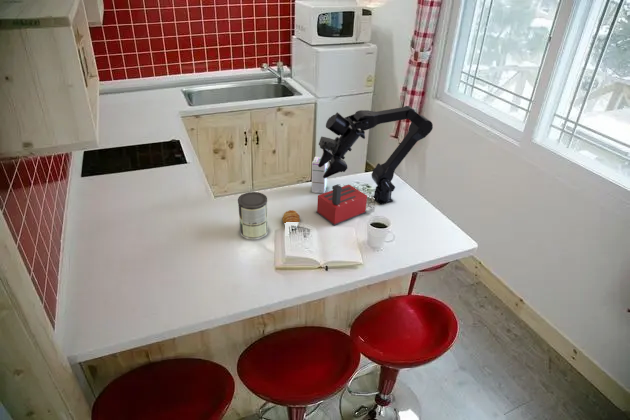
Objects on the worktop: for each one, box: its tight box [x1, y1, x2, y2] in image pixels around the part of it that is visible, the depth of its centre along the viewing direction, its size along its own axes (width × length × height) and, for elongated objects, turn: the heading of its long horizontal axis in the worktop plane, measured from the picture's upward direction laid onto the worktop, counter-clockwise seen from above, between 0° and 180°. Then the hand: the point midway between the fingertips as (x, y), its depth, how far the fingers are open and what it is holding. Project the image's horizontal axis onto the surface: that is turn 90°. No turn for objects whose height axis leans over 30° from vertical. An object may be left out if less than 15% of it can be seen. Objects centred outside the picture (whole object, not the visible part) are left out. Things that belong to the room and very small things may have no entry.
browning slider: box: [331, 184, 343, 205], centre depth 163 cm, size 2×3×7 cm
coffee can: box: [237, 191, 269, 241], centre depth 158 cm, size 10×10×14 cm
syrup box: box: [311, 156, 329, 194], centre depth 186 cm, size 6×6×14 cm
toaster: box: [316, 184, 368, 227], centre depth 173 cm, size 16×11×8 cm
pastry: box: [281, 209, 301, 224], centre depth 166 cm, size 9×7×4 cm
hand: (321, 172), depth 171 cm, fingers open, 9 cm apart
